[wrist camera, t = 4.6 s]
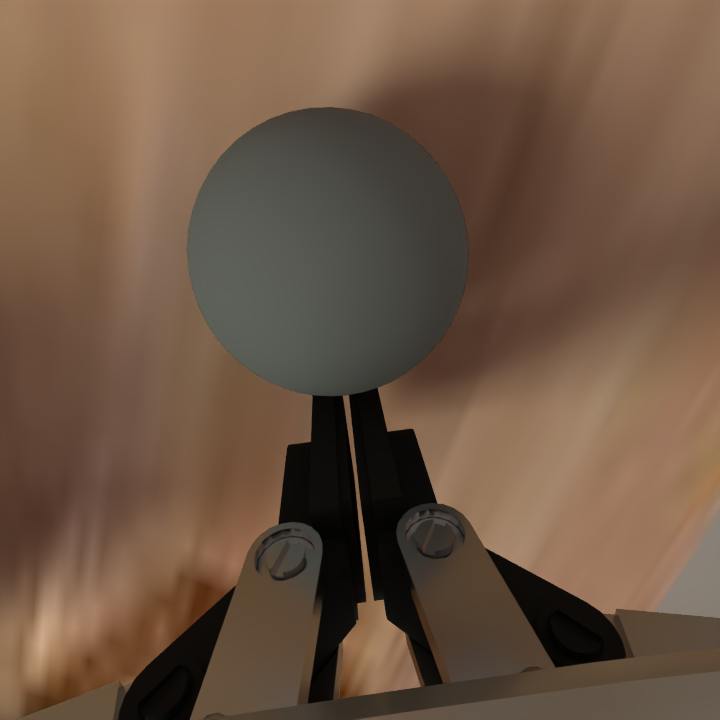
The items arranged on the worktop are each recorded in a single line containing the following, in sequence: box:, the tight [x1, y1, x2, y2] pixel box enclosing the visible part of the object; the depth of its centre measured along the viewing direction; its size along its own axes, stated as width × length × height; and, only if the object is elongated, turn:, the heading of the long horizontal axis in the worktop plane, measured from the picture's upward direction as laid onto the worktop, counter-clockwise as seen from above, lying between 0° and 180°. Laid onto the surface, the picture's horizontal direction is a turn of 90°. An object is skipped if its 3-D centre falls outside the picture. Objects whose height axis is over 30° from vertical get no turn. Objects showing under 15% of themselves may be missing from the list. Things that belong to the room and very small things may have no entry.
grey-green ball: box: [187, 107, 469, 396], centre depth 9 cm, size 6×6×6 cm
